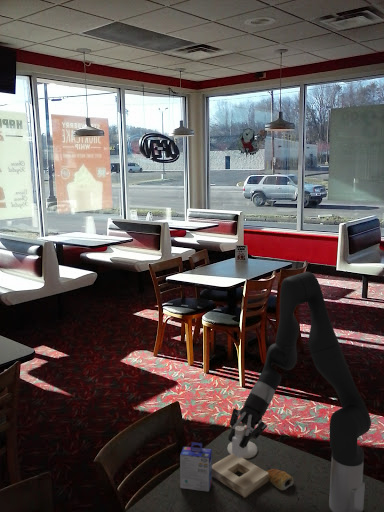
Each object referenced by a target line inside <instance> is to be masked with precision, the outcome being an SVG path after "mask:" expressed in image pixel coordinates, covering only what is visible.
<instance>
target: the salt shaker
mask: <svg viewBox="0 0 384 512" xmlns="http://www.w3.org/2000/svg"><path fill="white" fill-rule="evenodd" d="M245 429H246V427H245V426H244V427H243V426H236V427H235V435H234V436H233V437H232V453H233V454H234V455H235V456H237V457H238V458H241V457H243V456H245V455H247V453H248V444H247V446H246V447H244V448H241V447H240V446H239V444H240V442H241V441H242V439H243V437H244V435H245V434H246V430H245Z"/></svg>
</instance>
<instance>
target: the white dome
mask: <svg viewBox="0 0 384 512" xmlns="http://www.w3.org/2000/svg"><path fill="white" fill-rule="evenodd" d="M226 447H227V452H228V455H230V454H232V442H231V441H230V442H229V443H228V444H227V446H226ZM257 453H258V447H257V445H256V444H255V443H254V442H252V441H250V440H249V442H248V453H247V455H245V456H243V457H242V458H244V459H245V460H248V459H252V458H253V457H256V455H257Z"/></svg>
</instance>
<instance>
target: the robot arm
mask: <svg viewBox="0 0 384 512" xmlns="http://www.w3.org/2000/svg"><path fill="white" fill-rule="evenodd" d="M280 286H281V287H280V293H279V322H278V326H277V332H276V336H275V343H272V344H271V345H270V346H269V347H268V349H267V352H266V357H265V360H264V361H265V363H264V365H263V368H262V371H261V373H260V374H259V376H258V379H257V381H256V383H254V385H253V386H252V389H251V390H250V392H249V394H248V396H247V398H246V400H245V402H244V404H243V407H242V408H241V409H236V408H233V409H232V412H231V416H230V420H229V425H230V427H231V431H230V433H229V434H228V441H229V442H230V443H231V442H232V437H233V436H234V435H235V427H236V426H243V427H244V428H245V429H246V430H245V434H244V437H243V439H242V441H241V442H240V444H239V446H240V447H241V448H244V447H246V446H247V444H248V442H249V441H250V440H251V439H254V440H257V439H258V437H259V436H260V435H261V434H262V433H263V432H264V431H265V430H266V429H267V428H268V427H267V426H268V425H267V424H266V423H265V422H264V421H263V417H264V416H265V415H266V412H267V410H268V408H269V406H270V405H271V402H272V400H273V398H274V396H275V393H276V391H277V389H278V387H279V385H280V384H281V381H282V375H281V374H280V373H279V372H278V371H277V370H276V369H275V368H273V365H274V366H277V367H279V368H281V369H283V370H285V371H291V370H292V369H294V367H295V366H296V364H297V361H298V352H297V351H298V350H297V340H298V338H299V334H300V325H299V322H298V320H297V318H296V317H295V315H294V313H295V310H296V308H297V306H299V305H302V304H305V303H307V305H308V308H309V313H310V318H311V319H310V320H311V321H310V329H309V335H308V344H307V345H308V346H307V347H308V350H309V353H310V356H311V358H312V362H313V364H314V366H315V368H316V370H317V372H318V373H319V374H320V375H321V376H322V377H323V378H324V379H325V380H326V382H328V383H329V384H330V385H331V387H333V389H334V390H335V392H336V394H337V396H338V399H339V401H340V404H341V405H340V406H341V408H339V409H337V410H336V411H334V412H333V413H332V414H331V416H330V419H329V447H330V450H331V462H330V463H331V465H330V478H329V481H330V482H329V497H328V499H329V500H328V506H329V510H330V511H331V512H363V511H364V503H365V486H366V485H365V484H366V483H365V482H364V481H363V476H364V459H365V453H364V449H363V448H362V447H361V446H360V445H359V444H358V438H360V437H362V436H363V435H364V434H366V433H367V432H369V431H370V429H371V426H372V419H371V415H370V413H369V410H368V408H367V406H366V404H365V402H364V400H363V398H362V396H361V393H360V392H359V390H358V388H357V386H356V384H355V381H354V379H353V376H352V374H351V371H350V369H349V366H348V364H347V361H346V357H345V355H344V352H343V349H342V346H341V344H340V342H339V339H338V337H337V335H336V333H335V330H334V327H333V324H332V322H331V318H330V315H329V312H328V310H327V305H326V302H325V301H326V300H325V298H324V294H323V291H322V288H321V285H320V283H319V281H318V278H317V277H316V275H315V274H314V273H313V272H311V271H304V272H302V273H298V274H294V275H290V276H288V277H286V278H284V279H283V280H282V282H281V285H280ZM245 426H246V427H245Z"/></svg>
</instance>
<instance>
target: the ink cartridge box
mask: <svg viewBox="0 0 384 512" xmlns="http://www.w3.org/2000/svg"><path fill="white" fill-rule="evenodd" d="M194 446H199V447H194ZM212 452H213V449H211V448H203V443H202V442H194V441H191V446H183V447H182V450H181V452H180V456H179V461H180V462H179V465H180V466H179V469H180V471H179V472H180V473H179V475H180V477H179V478H180V480H179V481H180V484H179V487H180V489H185V490H186V489H187V490H192V491H193V490H194V491H201V492H202V491H203V492H210V490H211V488H212V487H211V486H212V484H213V477H212V465H213V457H212V456H213V453H212Z"/></svg>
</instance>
